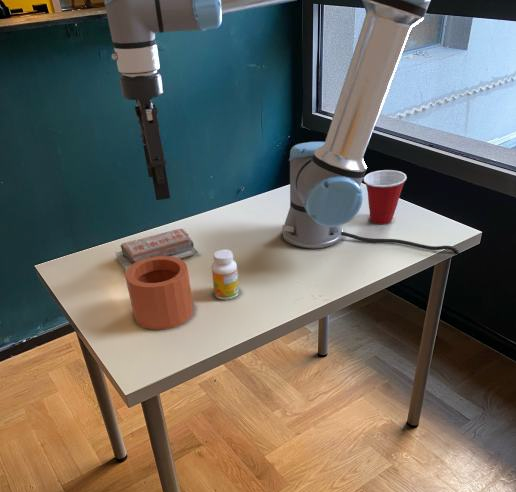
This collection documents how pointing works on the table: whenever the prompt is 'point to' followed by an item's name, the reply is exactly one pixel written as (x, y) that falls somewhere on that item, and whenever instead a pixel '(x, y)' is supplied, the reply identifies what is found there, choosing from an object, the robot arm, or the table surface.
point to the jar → (160, 292)
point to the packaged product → (157, 247)
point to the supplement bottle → (225, 275)
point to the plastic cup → (383, 194)
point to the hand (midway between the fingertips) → (158, 186)
